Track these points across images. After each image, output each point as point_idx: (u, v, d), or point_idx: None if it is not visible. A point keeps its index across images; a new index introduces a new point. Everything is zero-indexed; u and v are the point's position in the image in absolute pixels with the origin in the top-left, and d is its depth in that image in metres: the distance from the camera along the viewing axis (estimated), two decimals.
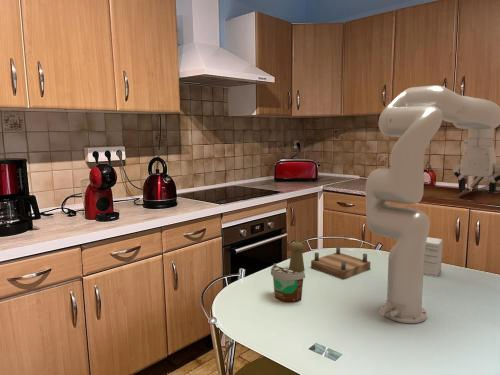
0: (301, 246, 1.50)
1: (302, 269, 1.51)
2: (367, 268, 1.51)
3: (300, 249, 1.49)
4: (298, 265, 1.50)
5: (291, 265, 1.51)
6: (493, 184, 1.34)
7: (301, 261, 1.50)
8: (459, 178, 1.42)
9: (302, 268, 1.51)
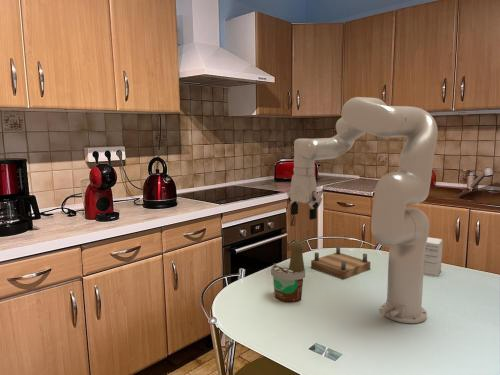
0: (301, 246, 1.50)
1: (302, 269, 1.51)
2: (367, 268, 1.51)
3: (300, 249, 1.49)
4: (298, 265, 1.50)
5: (291, 265, 1.51)
6: (312, 210, 1.44)
7: (301, 261, 1.50)
8: (291, 203, 1.52)
9: (302, 268, 1.51)
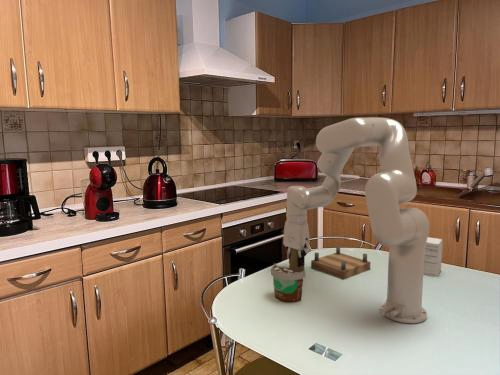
0: None
1: (302, 269, 1.51)
2: (367, 268, 1.51)
3: None
4: None
5: (291, 265, 1.51)
6: (300, 258, 1.49)
7: None
8: (289, 252, 1.53)
9: (302, 268, 1.51)
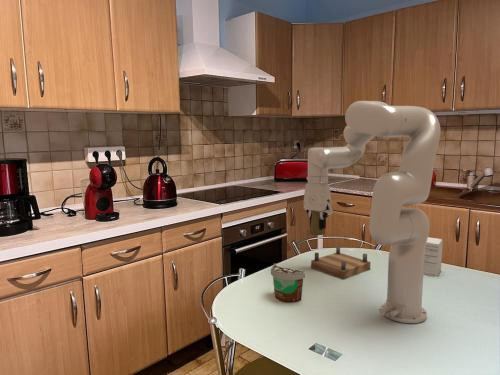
0: None
1: (323, 232, 1.49)
2: (367, 268, 1.51)
3: None
4: None
5: (312, 228, 1.49)
6: (322, 220, 1.47)
7: None
8: (309, 215, 1.51)
9: (323, 231, 1.49)
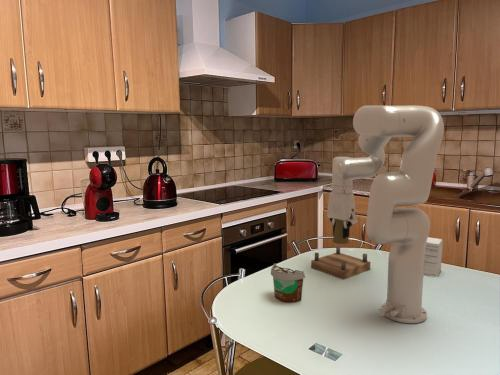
0: None
1: (347, 240, 1.50)
2: (367, 268, 1.51)
3: None
4: None
5: (336, 236, 1.50)
6: (346, 229, 1.49)
7: None
8: (333, 224, 1.53)
9: (347, 239, 1.50)
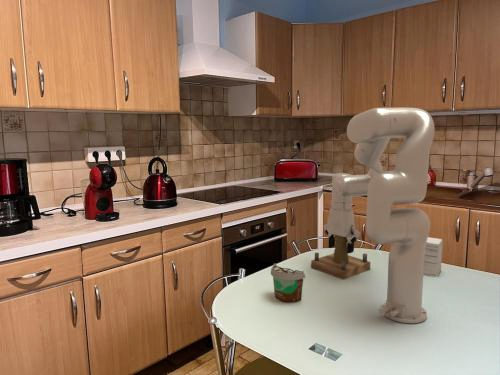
0: None
1: (347, 260, 1.51)
2: (367, 268, 1.51)
3: (345, 240, 1.50)
4: (343, 256, 1.50)
5: (336, 256, 1.51)
6: (350, 244, 1.48)
7: (346, 252, 1.51)
8: (328, 236, 1.55)
9: (347, 259, 1.51)
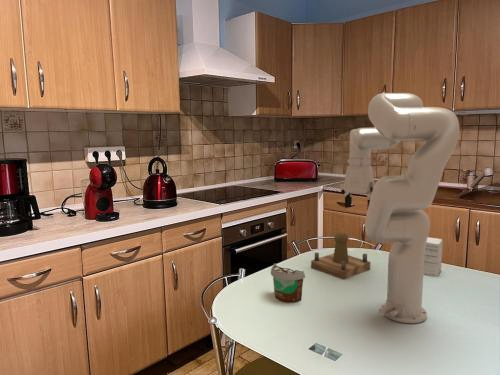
0: (346, 237, 1.50)
1: (347, 260, 1.51)
2: (367, 268, 1.51)
3: (345, 240, 1.50)
4: (343, 256, 1.50)
5: (336, 256, 1.51)
6: None
7: (346, 252, 1.51)
8: (345, 195, 1.49)
9: (347, 259, 1.51)
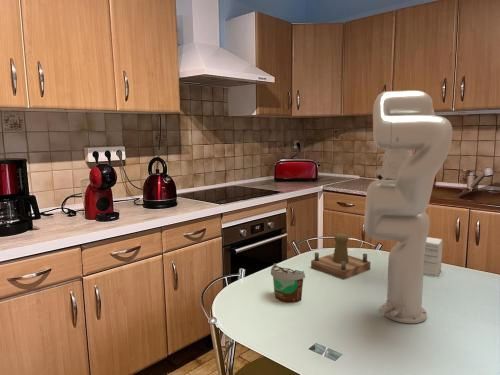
0: (346, 237, 1.50)
1: (347, 260, 1.51)
2: (367, 268, 1.51)
3: (345, 240, 1.50)
4: (343, 256, 1.50)
5: (335, 256, 1.51)
6: None
7: (346, 252, 1.51)
8: None
9: (347, 259, 1.51)
